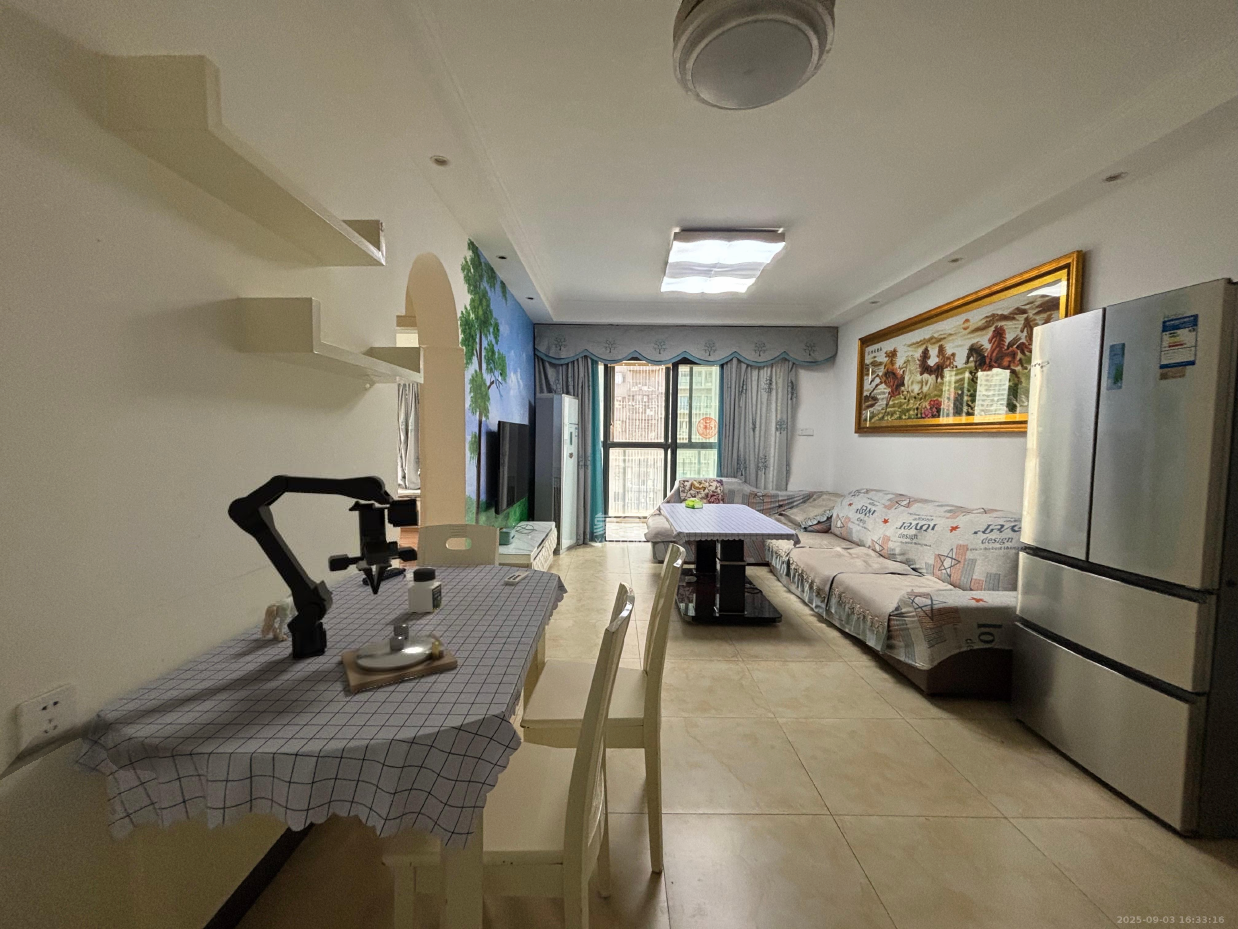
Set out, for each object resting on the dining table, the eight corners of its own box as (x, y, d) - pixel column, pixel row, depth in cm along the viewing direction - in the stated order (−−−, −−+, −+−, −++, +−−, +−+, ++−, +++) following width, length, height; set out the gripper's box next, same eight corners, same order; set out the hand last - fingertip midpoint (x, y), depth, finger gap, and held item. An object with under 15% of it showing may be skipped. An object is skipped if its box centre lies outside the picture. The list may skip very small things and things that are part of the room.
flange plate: (340, 671, 106) (339, 649, 106) (379, 642, 122) (378, 623, 122) (430, 670, 105) (430, 648, 105) (458, 641, 121) (457, 621, 121)
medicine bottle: (433, 613, 149) (431, 571, 148) (408, 613, 149) (406, 571, 148) (442, 605, 156) (440, 565, 155) (418, 606, 156) (416, 565, 156)
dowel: (433, 660, 111) (432, 644, 110) (431, 658, 112) (431, 642, 112) (440, 659, 111) (439, 643, 111) (438, 657, 112) (437, 641, 112)
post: (391, 651, 111) (390, 641, 111) (388, 647, 114) (388, 637, 114) (406, 648, 113) (405, 638, 113) (403, 644, 116) (403, 634, 116)
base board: (351, 693, 100) (351, 685, 100) (341, 659, 117) (341, 652, 117) (457, 667, 111) (457, 660, 111) (434, 639, 127) (434, 633, 127)
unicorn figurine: (321, 619, 146) (319, 571, 145) (292, 644, 127) (290, 589, 126) (292, 621, 144) (290, 573, 144) (259, 647, 125) (256, 592, 125)
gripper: (330, 538, 112) (333, 610, 113) (421, 528, 123) (424, 595, 123) (326, 531, 122) (329, 598, 122) (411, 523, 132) (413, 585, 132)
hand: (375, 594), depth 125 cm, fingers closed
